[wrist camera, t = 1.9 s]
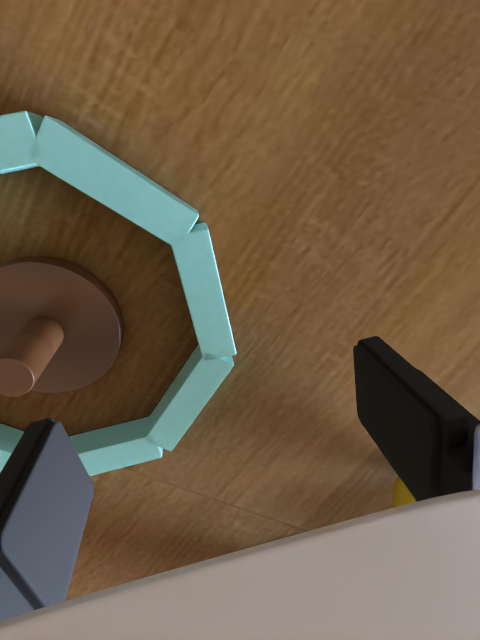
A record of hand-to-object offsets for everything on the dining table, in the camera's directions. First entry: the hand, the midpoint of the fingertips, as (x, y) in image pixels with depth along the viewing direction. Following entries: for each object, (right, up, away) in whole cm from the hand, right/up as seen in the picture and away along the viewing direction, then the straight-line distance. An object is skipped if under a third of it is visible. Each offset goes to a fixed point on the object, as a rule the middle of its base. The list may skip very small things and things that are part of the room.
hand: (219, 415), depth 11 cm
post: (-10, +3, +9) cm, 14 cm away
